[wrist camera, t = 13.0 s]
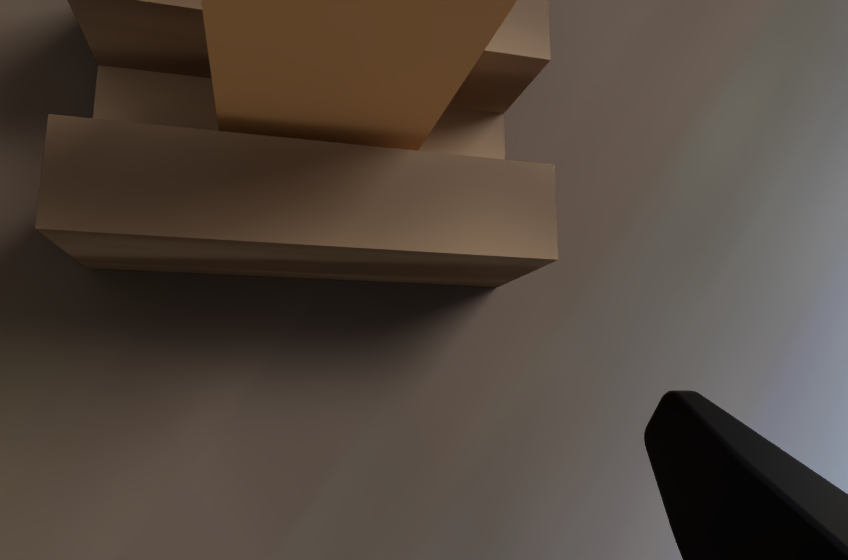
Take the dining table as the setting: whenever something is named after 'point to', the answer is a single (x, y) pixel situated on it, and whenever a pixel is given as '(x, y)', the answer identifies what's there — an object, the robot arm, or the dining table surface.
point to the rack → (288, 171)
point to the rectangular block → (343, 65)
